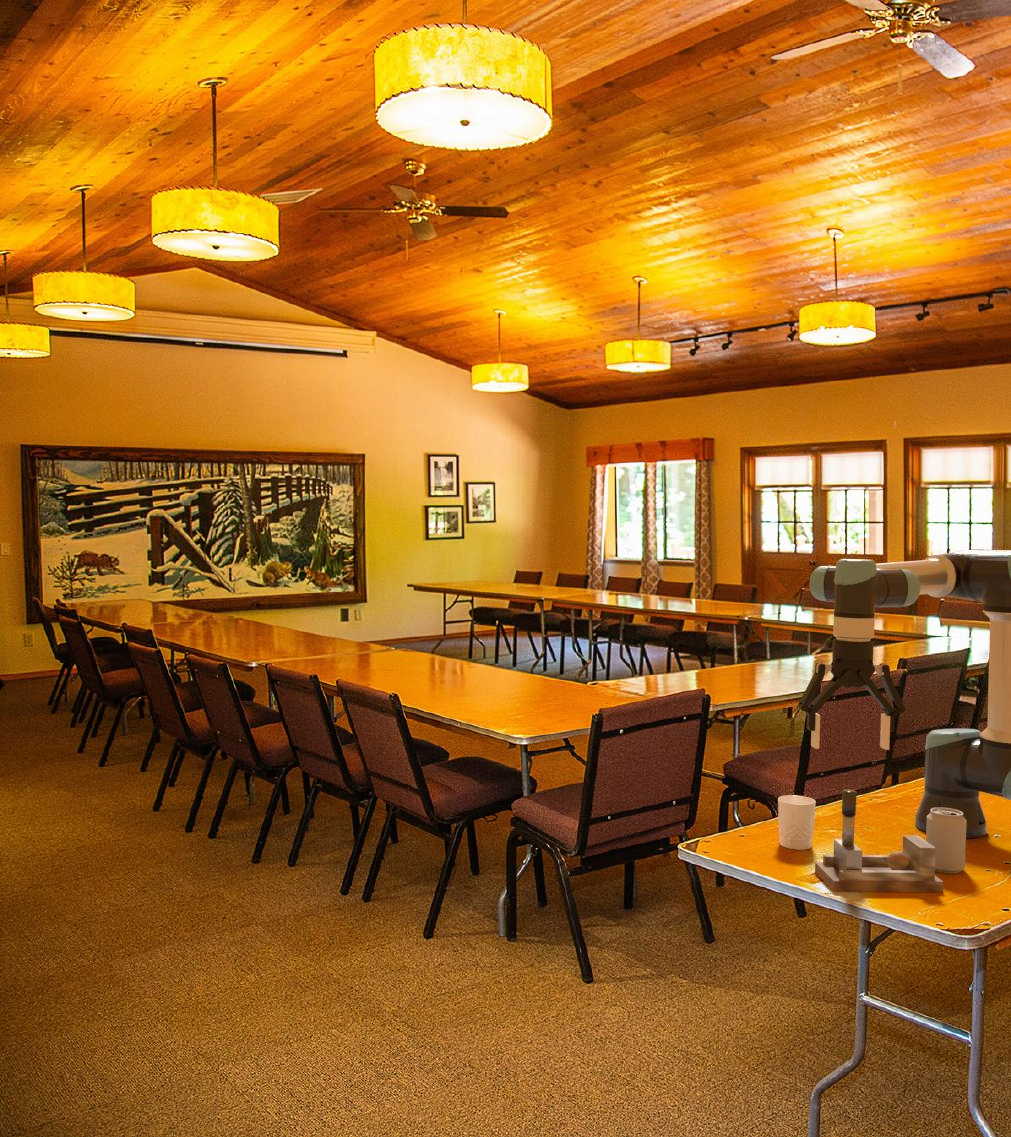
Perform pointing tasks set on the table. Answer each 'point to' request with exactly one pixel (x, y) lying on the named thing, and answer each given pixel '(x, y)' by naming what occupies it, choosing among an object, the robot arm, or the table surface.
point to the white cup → (796, 821)
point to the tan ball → (898, 861)
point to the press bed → (886, 871)
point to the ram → (847, 836)
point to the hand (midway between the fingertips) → (849, 748)
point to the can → (947, 839)
